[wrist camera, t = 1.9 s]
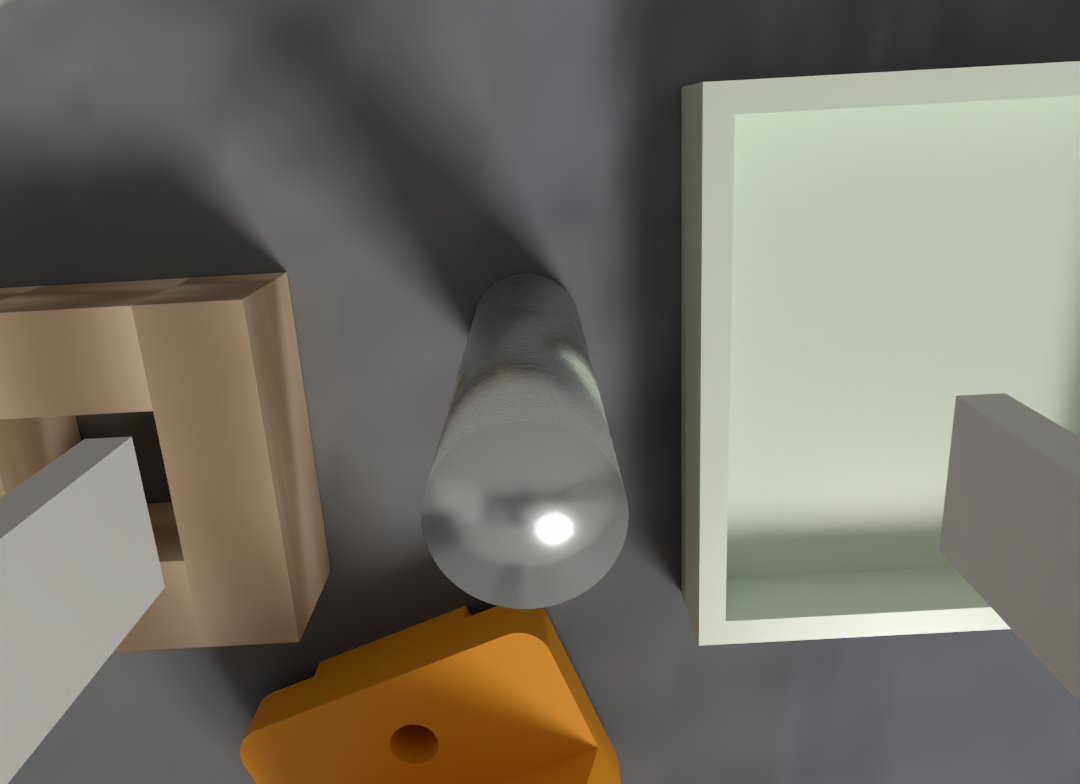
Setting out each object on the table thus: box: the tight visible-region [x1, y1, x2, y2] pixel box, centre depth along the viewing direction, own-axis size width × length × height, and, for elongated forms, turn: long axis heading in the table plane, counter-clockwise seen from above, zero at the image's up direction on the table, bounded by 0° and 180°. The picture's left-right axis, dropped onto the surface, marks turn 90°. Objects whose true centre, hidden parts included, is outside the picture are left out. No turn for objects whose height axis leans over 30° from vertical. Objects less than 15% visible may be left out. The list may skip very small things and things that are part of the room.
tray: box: [681, 61, 1080, 646], centre depth 24 cm, size 14×16×3 cm
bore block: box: [0, 272, 331, 652], centre depth 24 cm, size 10×10×4 cm
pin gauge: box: [421, 273, 629, 609], centre depth 19 cm, size 3×3×13 cm
